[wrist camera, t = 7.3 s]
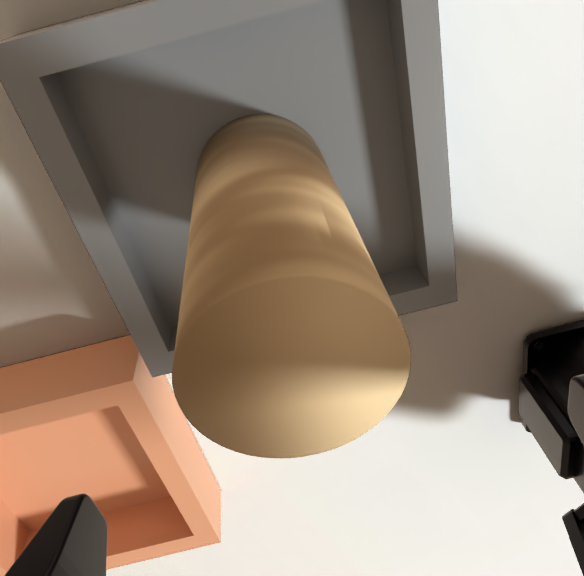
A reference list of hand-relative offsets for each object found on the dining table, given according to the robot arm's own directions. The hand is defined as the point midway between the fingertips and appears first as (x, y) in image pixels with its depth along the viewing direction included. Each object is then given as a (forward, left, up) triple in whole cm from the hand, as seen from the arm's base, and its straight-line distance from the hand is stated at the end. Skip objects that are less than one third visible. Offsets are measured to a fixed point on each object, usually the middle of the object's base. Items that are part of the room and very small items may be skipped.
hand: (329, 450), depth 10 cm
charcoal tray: (0, -1, -12) cm, 12 cm away
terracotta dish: (+12, +10, -12) cm, 20 cm away
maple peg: (0, -1, -11) cm, 11 cm away
